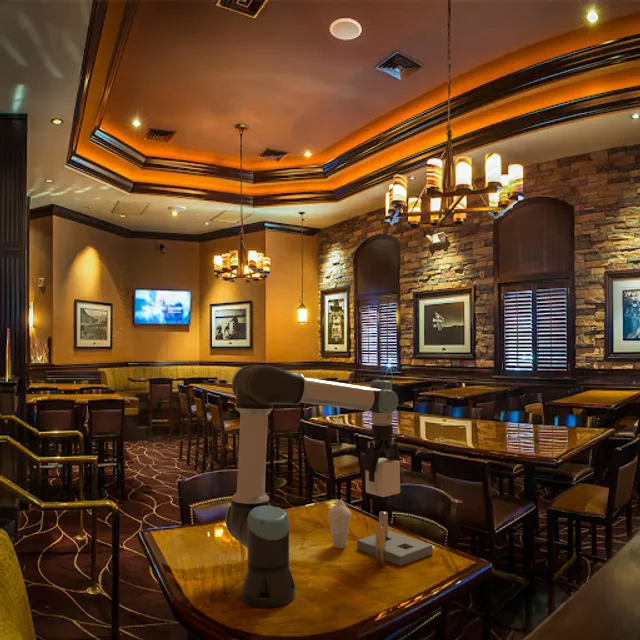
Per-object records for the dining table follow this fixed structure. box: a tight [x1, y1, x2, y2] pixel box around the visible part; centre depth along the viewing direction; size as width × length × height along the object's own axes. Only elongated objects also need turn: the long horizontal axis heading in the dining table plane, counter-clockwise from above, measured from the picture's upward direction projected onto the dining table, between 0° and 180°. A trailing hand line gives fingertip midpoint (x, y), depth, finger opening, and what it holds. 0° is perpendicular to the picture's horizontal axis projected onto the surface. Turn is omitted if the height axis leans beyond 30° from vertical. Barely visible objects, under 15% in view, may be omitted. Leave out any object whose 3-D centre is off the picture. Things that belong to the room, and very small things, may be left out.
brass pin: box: [374, 524, 386, 568], centre depth 173 cm, size 3×3×12 cm
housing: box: [364, 457, 401, 498], centre depth 190 cm, size 9×9×11 cm
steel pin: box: [378, 510, 389, 541], centre depth 188 cm, size 3×3×12 cm
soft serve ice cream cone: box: [327, 499, 352, 549], centre depth 190 cm, size 8×8×16 cm
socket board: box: [356, 529, 434, 567], centre depth 184 cm, size 16×20×3 cm
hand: (382, 488), depth 189 cm, fingers closed on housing, 9 cm apart
